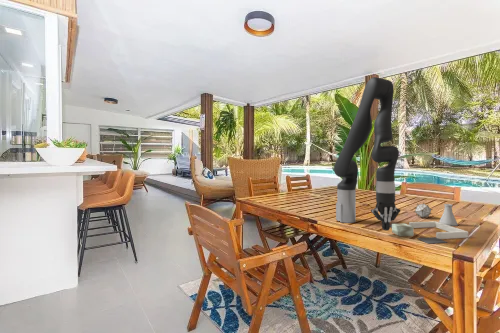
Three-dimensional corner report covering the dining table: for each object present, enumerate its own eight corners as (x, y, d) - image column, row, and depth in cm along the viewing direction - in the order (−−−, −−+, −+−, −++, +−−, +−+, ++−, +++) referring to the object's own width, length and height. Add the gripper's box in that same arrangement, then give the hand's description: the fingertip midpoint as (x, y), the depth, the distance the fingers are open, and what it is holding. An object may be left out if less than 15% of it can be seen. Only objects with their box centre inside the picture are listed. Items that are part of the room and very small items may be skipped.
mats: (428, 243, 99) (428, 243, 99) (387, 225, 125) (387, 225, 125) (447, 242, 100) (447, 242, 100) (402, 225, 125) (402, 224, 125)
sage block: (399, 236, 109) (399, 227, 109) (391, 232, 115) (391, 223, 115) (413, 236, 109) (413, 227, 109) (405, 232, 115) (405, 223, 115)
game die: (427, 224, 138) (438, 212, 132) (411, 219, 139) (421, 206, 133) (424, 213, 145) (434, 202, 138) (408, 208, 146) (418, 196, 140)
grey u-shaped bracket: (438, 239, 104) (438, 233, 104) (409, 227, 121) (409, 222, 121) (468, 237, 105) (468, 231, 105) (435, 226, 122) (435, 221, 122)
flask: (435, 222, 128) (435, 203, 128) (448, 222, 129) (448, 203, 129) (447, 226, 121) (447, 206, 121) (461, 226, 122) (461, 205, 121)
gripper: (376, 193, 106) (376, 233, 107) (405, 191, 107) (405, 231, 108) (366, 190, 114) (367, 228, 114) (393, 189, 115) (394, 227, 115)
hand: (385, 230), depth 111 cm, fingers closed
